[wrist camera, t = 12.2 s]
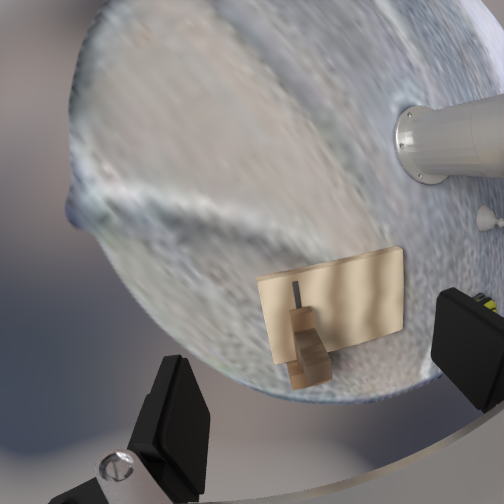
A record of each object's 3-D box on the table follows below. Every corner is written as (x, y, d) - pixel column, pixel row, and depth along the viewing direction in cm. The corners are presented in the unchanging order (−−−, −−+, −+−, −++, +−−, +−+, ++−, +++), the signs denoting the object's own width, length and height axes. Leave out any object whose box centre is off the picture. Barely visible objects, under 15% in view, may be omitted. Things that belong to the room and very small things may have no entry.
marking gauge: (316, 298, 41) (342, 339, 29) (323, 363, 44) (344, 411, 32) (276, 307, 41) (289, 352, 29) (288, 372, 44) (301, 422, 32)
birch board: (396, 246, 40) (402, 249, 38) (397, 324, 43) (402, 329, 41) (256, 277, 40) (257, 282, 38) (272, 357, 44) (274, 365, 42)
